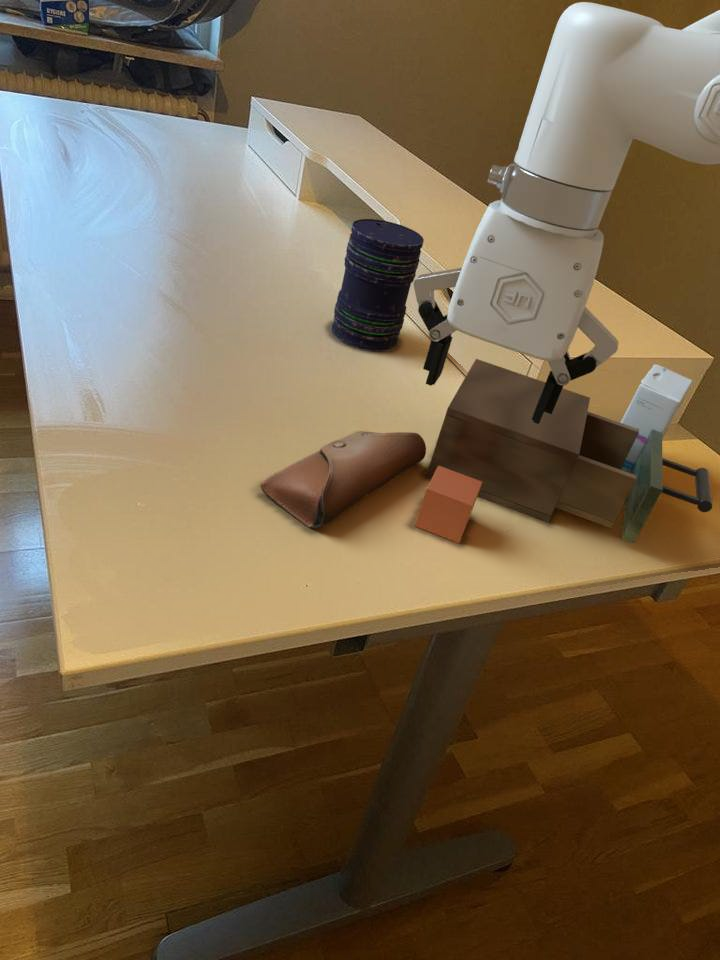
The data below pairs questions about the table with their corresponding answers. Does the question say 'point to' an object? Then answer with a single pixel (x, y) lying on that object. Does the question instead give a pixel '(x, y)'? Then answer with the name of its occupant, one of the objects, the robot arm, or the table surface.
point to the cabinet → (511, 439)
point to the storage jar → (376, 284)
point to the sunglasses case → (342, 474)
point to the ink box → (654, 407)
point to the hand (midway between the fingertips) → (484, 397)
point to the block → (448, 504)
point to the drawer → (623, 477)
